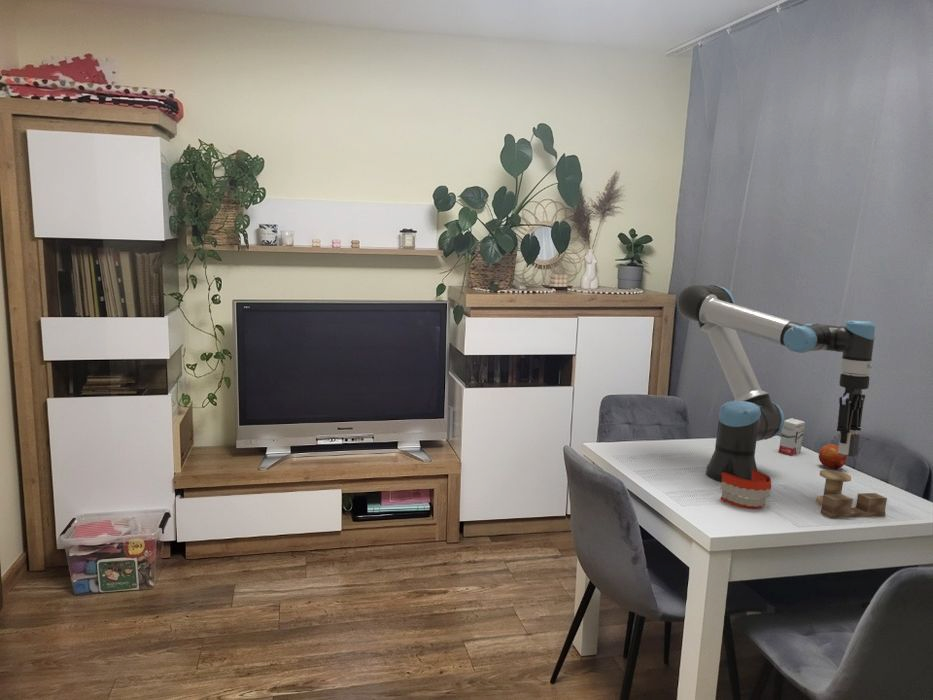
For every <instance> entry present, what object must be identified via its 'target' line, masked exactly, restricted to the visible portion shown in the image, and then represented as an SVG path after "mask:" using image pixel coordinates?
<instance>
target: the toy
mask: <svg viewBox="0 0 933 700" xmlns="http://www.w3.org/2000/svg"><path fill="white" fill-rule="evenodd" d="M771 489H772V480H771V477H770V476H769V475H767V474H764V473H763V472H761V471H759V470H757V471H756V470H752V480H747V479H742V478H739V477H736V476H734V475H731V474H729V473H726V472H722V482H721V487H720V490H721V497H720V498H719V499H720V501H723V502H725V503H727V504H730V505H733V506H735V507H739V508H745V509H751V510H753V509H754V510H756V509H760V508H763V507H765V506H766V499H768V498H770V494H771Z"/></svg>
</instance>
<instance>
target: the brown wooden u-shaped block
mask: <svg viewBox="0 0 933 700" xmlns="http://www.w3.org/2000/svg"><path fill="white" fill-rule="evenodd" d="M822 496H823V502H822V505H821V508H820V511H819V513H820V514H821V515H824V516H826V517H828V518H829V519H846V518H847V519H850V518H852V519H853V518H868V517H869V518H871V517H873V518H874V516H876V517H886V507H887V502H888V498H887V497H886V496H883V495H881V494H879V493H877V492H872V493H871V492H868V493H867V492H866V493H857V497H856V503H855V507H853V501H854V500H853V498H851V497H849V496H846V495H844V494H842V493H841V494H829V495H824V494H823V495H822Z"/></svg>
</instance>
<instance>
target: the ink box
mask: <svg viewBox="0 0 933 700" xmlns="http://www.w3.org/2000/svg"><path fill="white" fill-rule="evenodd" d="M805 425H806V421H803V420H800V419H796V418H792V417H791V418H788V419H786V420H785V419H784V425H783V428H782V430H781V433H780V434H781V435H780V441H779V445H778V446H779V449H778V453H780V454H784V455H788V456H791V457H792V456H794V454H795V455H797V454H800V453H801V451H802V443H803V439H804V432H805ZM799 452H800V453H799Z"/></svg>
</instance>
